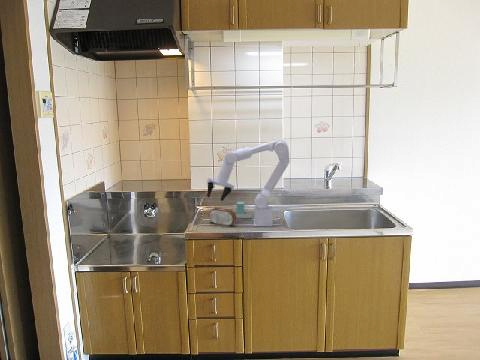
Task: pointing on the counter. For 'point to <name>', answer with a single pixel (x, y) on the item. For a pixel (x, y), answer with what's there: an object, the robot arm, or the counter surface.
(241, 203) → the block
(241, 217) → the pad
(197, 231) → the counter surface
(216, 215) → the tin
